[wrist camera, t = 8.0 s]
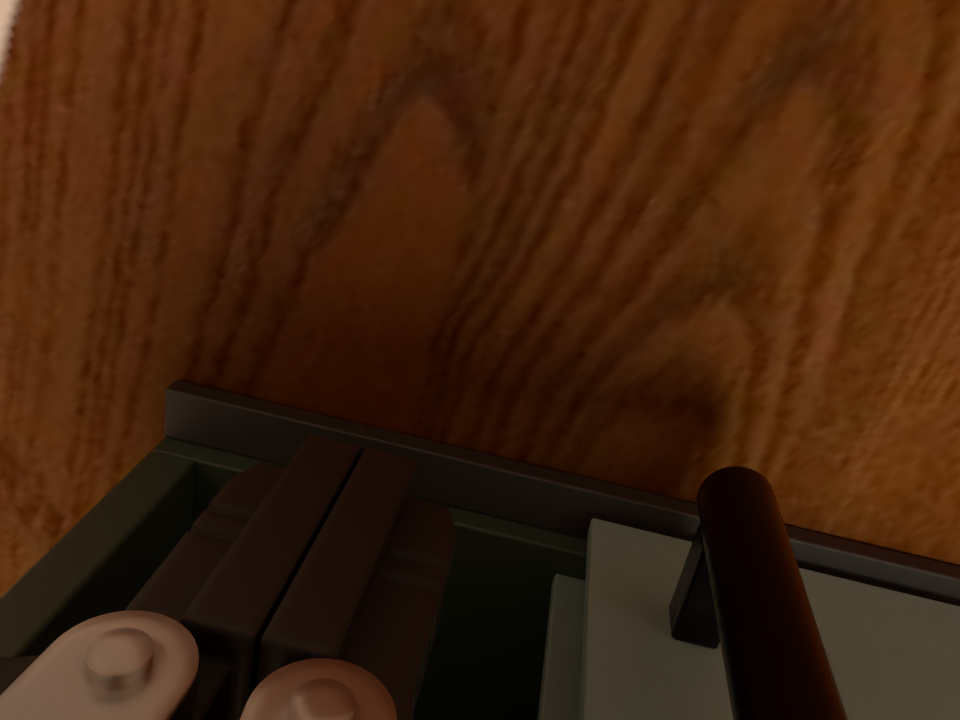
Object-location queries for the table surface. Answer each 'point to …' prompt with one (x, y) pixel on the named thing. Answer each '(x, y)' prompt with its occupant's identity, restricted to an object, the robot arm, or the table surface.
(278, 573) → the robot arm
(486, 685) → the cabinet
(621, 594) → the door
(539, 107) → the table surface
